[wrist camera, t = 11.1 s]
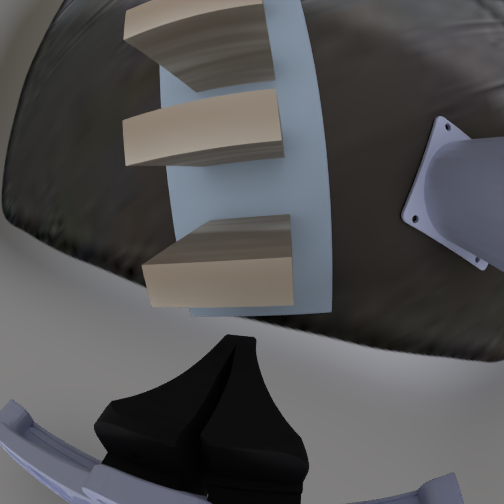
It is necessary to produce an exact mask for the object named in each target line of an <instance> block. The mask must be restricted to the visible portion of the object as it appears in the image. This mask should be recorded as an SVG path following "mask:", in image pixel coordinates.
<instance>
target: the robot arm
mask: <svg viewBox="0 0 504 504" xmlns="http://www.w3.org/2000/svg"><path fill="white" fill-rule="evenodd" d="M445 124H446V125H447V126H448V130H446V128H445ZM413 216H416V221H415V222H412V217H413ZM401 218H402V220H403V221H404V222H406V223H407V224H409V225H411V226H413V227H414V228H416V229H418V230H419V231H421V232H423V233H425V234H426V235H428V236H430V237H431V238H433V239H434V240H436V241H438V242H439V243H441V244H443V245H444V246H446V247H447V248H449V249H450V250H452V251H454V252H455V253H457V254H458V255H460V256H461V257H463V258H464V259H466V260H467V261H469V262H470V263H472V264H473V265H474V266H476V267H477V268H479V269H480V270H485V269H486V267H487V265H488V263H489V264H491V265H492V266H494V267H496V268H497V269H499V270H501V271H502V272H504V137H493V138H481V139H471V138H470V137H468V136H467V135H466V134H465V133H464V132H462V131H461V130H460V129H459V128H457V127H456V126H455V125H453V124H452V123H451V122H449V121H448V120H447V119H445V118H444V117H442V116H439V117H436V118H435V121H434V124H433V128H432V131H431V134H430V137H429V141H428V144H427V147H426V150H425V153H424V156H423V159H422V161H421V164H420V167H419V170H418V173H417V175H416V178H415V181H414V183H413V186H412V188H411V191H410V193H409V196H408V198H407V201H406V203H405V205H404V208H403V210H402V213H401ZM476 257H477V260H476V261H475V259H476ZM94 430H95V433H96V435H97V436H98V438H99V440H100V441H101V443H102V444H103V446H104V447H105V449H106V450H107V452H108V453H107V454H106V456H105V458H104V460H103V461H100V460H97V459H96V458H94V457H92V456H90V455H88V454H86V453H83V452H82V451H80V450H78V449H76V448H75V447H73V446H71V445H69V444H68V443H66V442H64V441H63V440H61V439H59V438H58V437H56V436H54V435H53V434H51V433H50V432H48V431H47V430H45V429H44V428H42V427H41V426H39V425H38V424H37V423H35V422H34V421H33V419H32V417H31V416H30V414H29V413H28V412H27V411H26V410H25V409H24V408H23V407H22V406H20V405H19V404H18V403H17V402H15V401H14V400H10V401H9V402H8V403H7V404H6V405H5V407H3V409H2V410H1V411H0V445H1V446H2V447H3V448H4V450H5V451H6V452H7V453H8V454H9V455H10V456H11V457H12V458H13V459H14V460H15V461H16V462H17V463H18V464H20V465H21V466H22V467H23V468H24V469H25V470H27V471H28V472H29V473H30V474H32V475H33V476H34V477H35V478H37V479H38V480H39V481H40V482H42V483H43V484H44V485H46V486H47V487H48V488H49V489H51V490H52V491H53V492H55V493H56V494H58V495H59V496H61V497H62V498H63V499H65V500H66V501H68V502H70V504H301V494H302V491H303V481H304V479H305V477H306V475H307V473H308V470H309V462H308V457H307V453H306V450H305V447H304V444H303V442H302V439H301V437H300V436H299V435H298V434H297V433H296V432H295V431H294V430H293V428H292V427H291V426H290V425H289V424H288V422H287V421H286V420H285V418H284V417H283V416H282V414H281V413H280V411H279V410H278V408H277V407H276V405H275V403H274V402H273V400H272V398H271V396H270V394H269V392H268V390H267V388H266V385H265V383H264V381H263V378H262V375H261V372H260V369H259V365H258V361H257V356H256V339H255V338H254V337H247V336H238V335H229V334H228V335H226V336H224V338H223V339H222V340H221V341H220V342H219V343H218V344H217V345H216V346H215V347H214V348H213V349H212V350H211V351H210V352H209V353H208V354H206V355H205V356H204V357H203V358H202V359H201V360H200V361H198V362H197V363H196V364H195V365H193V366H192V367H191V368H190V369H188V370H187V371H185V372H184V373H183V374H181V375H179V376H178V377H176V378H174V379H173V380H171V381H169V382H167V383H165V384H163V385H161V386H159V387H157V388H154V389H152V390H150V391H147V392H144V393H142V394H138V395H135V396H132V397H128V398H124V399H119V400H115V401H112V402H111V403H110V404H109V405H108V406H107V407H106V409H105V410H104V411H103V413H102V414H101V416H100V417H99V419H98V420H97V422H96V423H95V424H94ZM207 495H208V497H207ZM348 504H464V502H463V498H462V495H461V491H460V489H459V485H458V482H457V479H456V475H455V473H450V474H447V475H444V476H441V477H438V478H435V479H432V480H430V481H428V482H426V483H425V484H423V485H422V486H421V487H420V488H419V489H418V490H416V491H413V492H409V493H405V494H401V495H396V496H392V497H387V498H382V499H376V500H371V501H364V502H357V503H348Z"/></svg>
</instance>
